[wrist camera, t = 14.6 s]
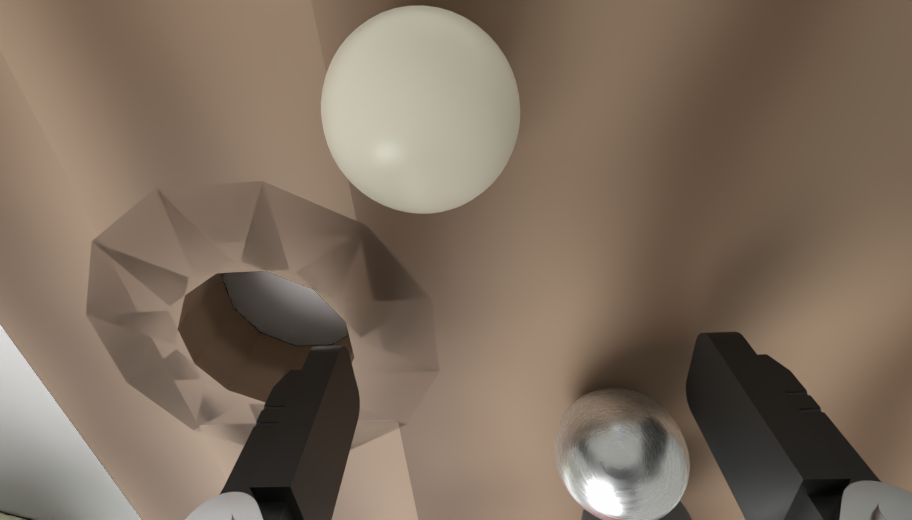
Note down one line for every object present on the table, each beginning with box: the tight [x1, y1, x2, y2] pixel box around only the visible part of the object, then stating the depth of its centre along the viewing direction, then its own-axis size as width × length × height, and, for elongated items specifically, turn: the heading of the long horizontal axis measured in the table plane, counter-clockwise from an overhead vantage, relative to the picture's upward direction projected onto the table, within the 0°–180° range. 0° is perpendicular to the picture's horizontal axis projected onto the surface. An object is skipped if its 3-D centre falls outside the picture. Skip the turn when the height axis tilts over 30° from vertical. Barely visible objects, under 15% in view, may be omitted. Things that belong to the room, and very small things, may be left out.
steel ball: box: [554, 388, 690, 520], centre depth 12 cm, size 3×3×3 cm
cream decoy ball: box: [321, 5, 520, 214], centre depth 8 cm, size 3×3×3 cm
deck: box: [0, 0, 912, 520], centre depth 13 cm, size 26×18×2 cm
